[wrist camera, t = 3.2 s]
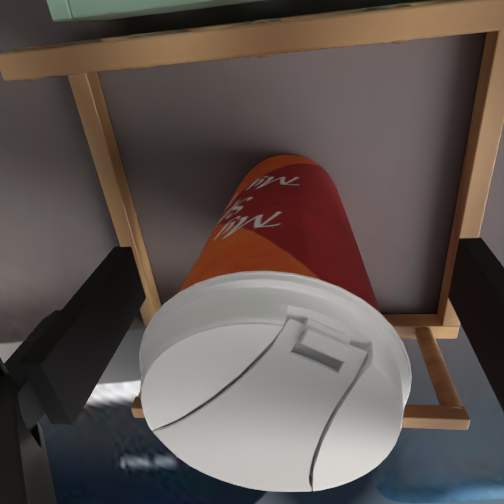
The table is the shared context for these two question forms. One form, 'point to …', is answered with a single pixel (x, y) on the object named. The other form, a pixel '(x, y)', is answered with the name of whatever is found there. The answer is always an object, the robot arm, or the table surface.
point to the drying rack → (283, 41)
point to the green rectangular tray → (126, 8)
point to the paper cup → (277, 344)
